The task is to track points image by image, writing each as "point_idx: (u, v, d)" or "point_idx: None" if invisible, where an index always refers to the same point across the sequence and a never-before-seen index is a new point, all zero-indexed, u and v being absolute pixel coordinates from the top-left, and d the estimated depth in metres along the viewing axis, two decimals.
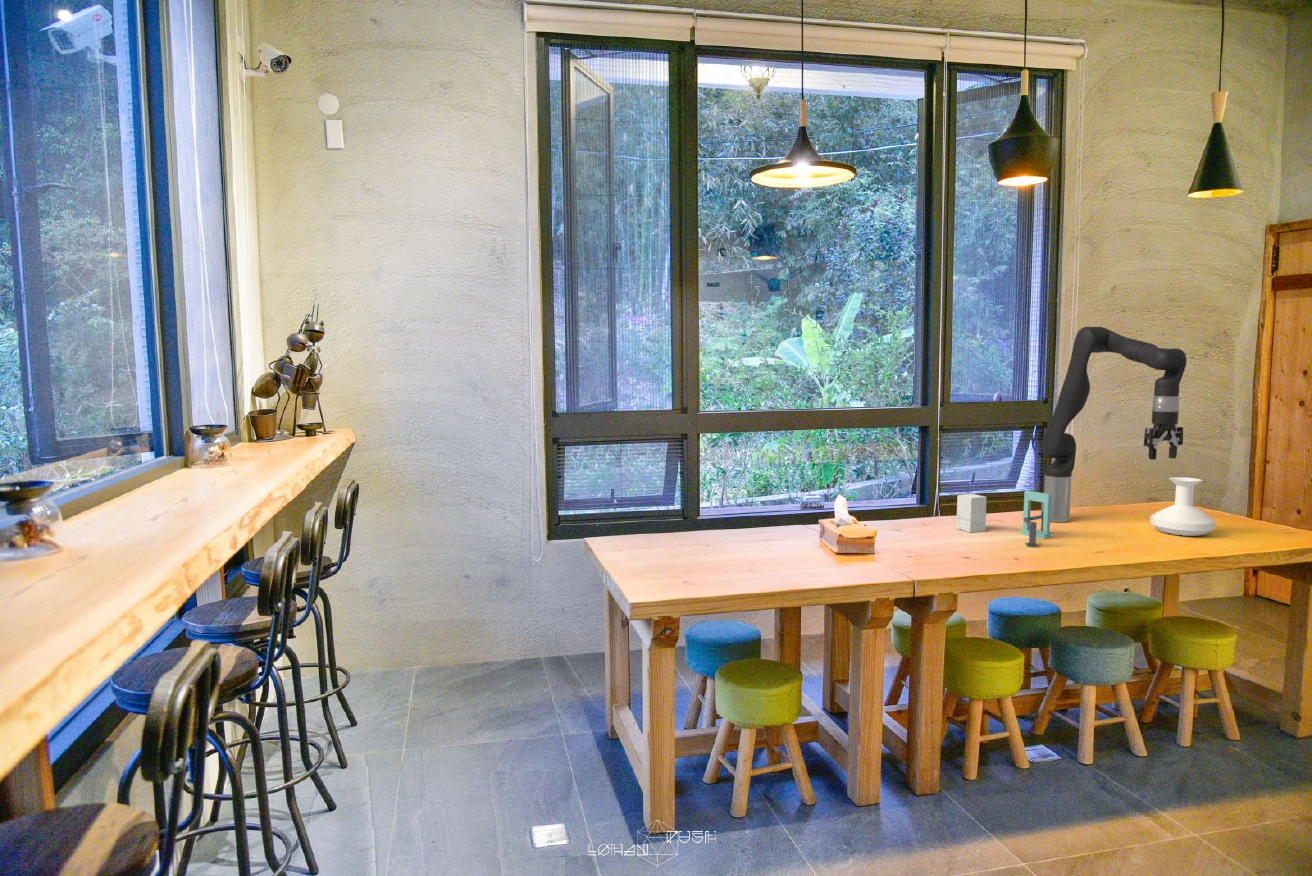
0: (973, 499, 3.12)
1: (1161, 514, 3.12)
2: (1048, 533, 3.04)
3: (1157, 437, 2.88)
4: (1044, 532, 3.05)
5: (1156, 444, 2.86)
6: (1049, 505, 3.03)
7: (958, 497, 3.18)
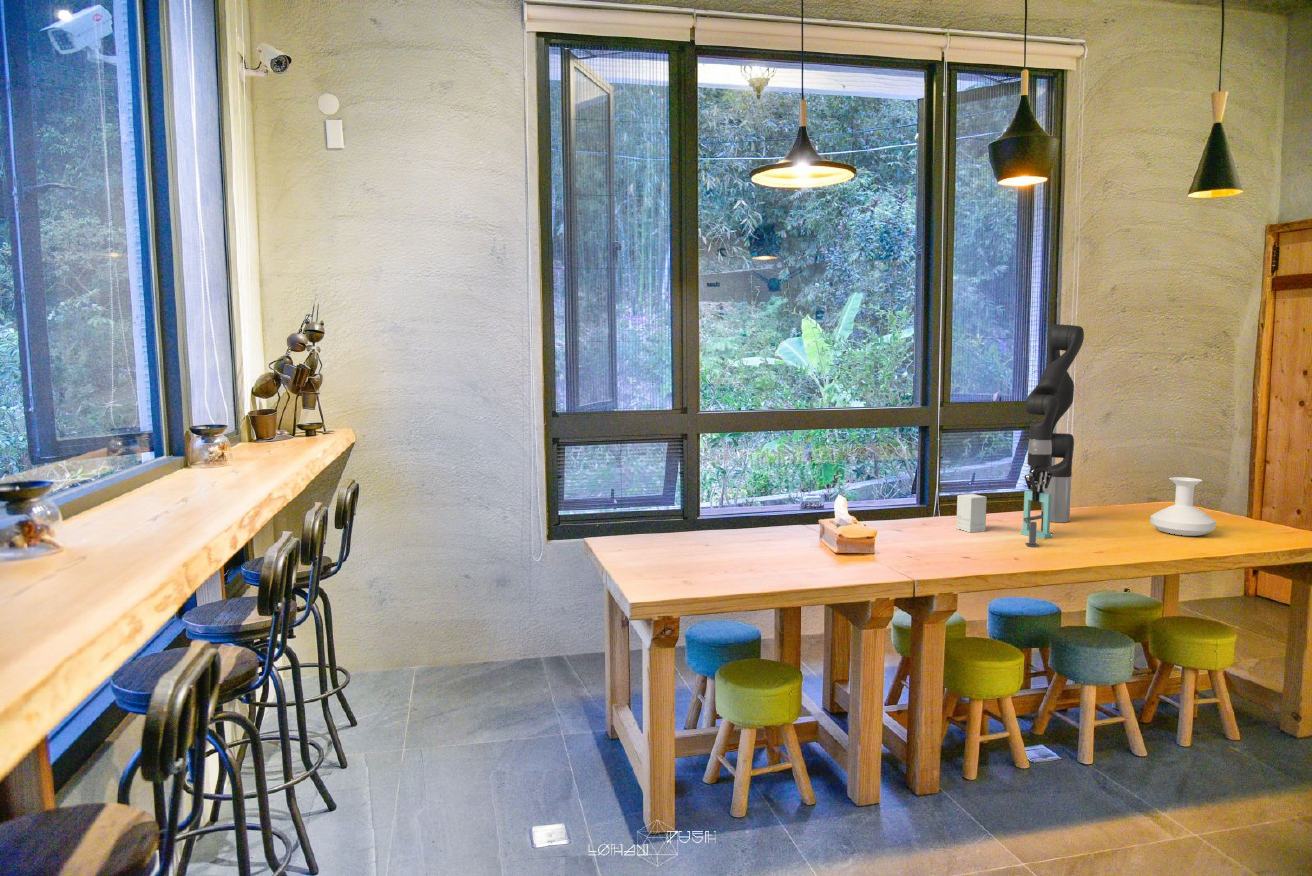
0: (973, 499, 3.12)
1: (1161, 514, 3.12)
2: (1048, 533, 3.04)
3: None
4: (1044, 532, 3.05)
5: (1038, 487, 3.05)
6: (1049, 505, 3.03)
7: (958, 497, 3.18)
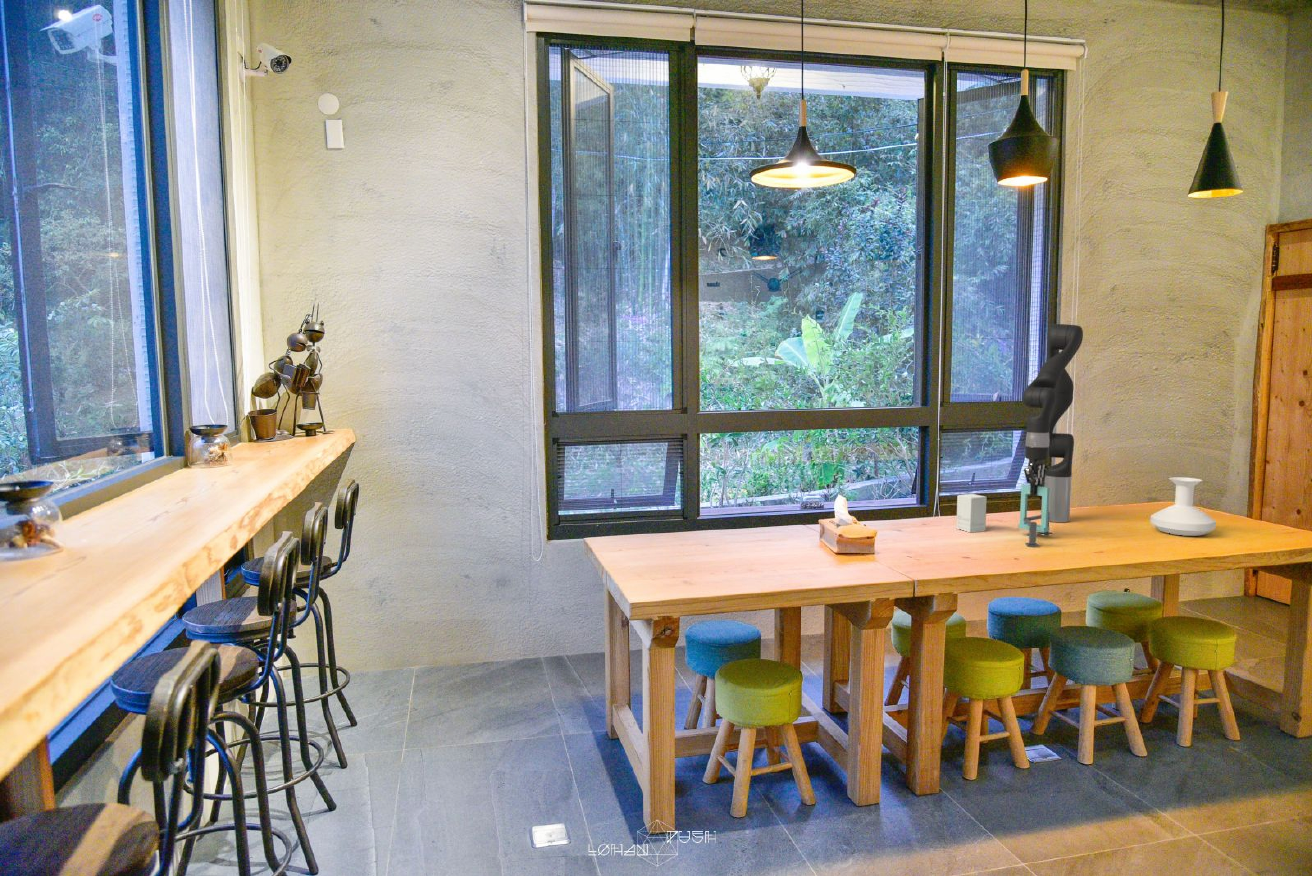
0: (973, 499, 3.12)
1: (1161, 514, 3.12)
2: (1046, 526, 3.03)
3: None
4: (1043, 526, 3.03)
5: (1037, 480, 3.03)
6: (1048, 498, 3.02)
7: (958, 497, 3.18)
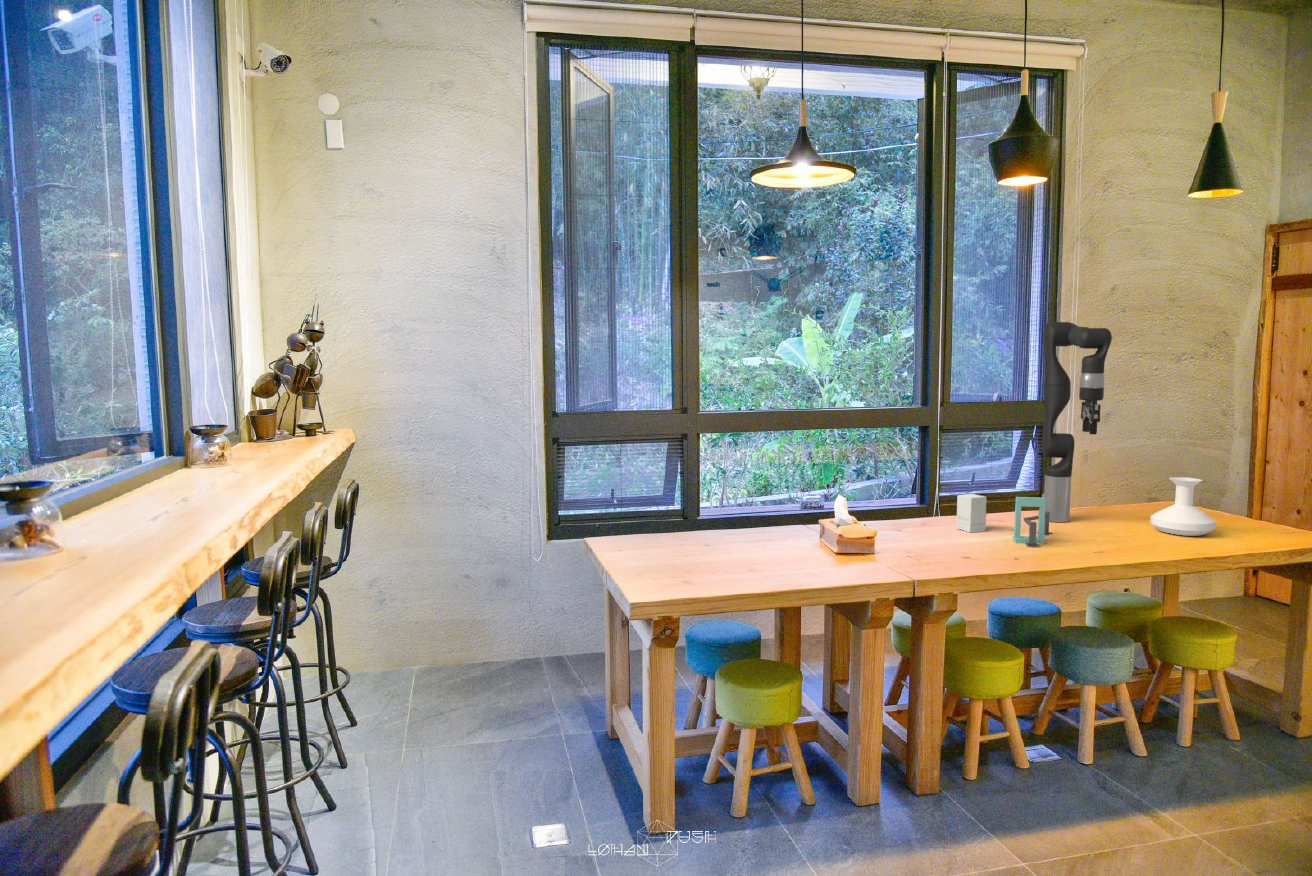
0: (973, 499, 3.12)
1: (1161, 514, 3.12)
2: None
3: None
4: (1041, 537, 2.97)
5: None
6: None
7: (958, 497, 3.18)
